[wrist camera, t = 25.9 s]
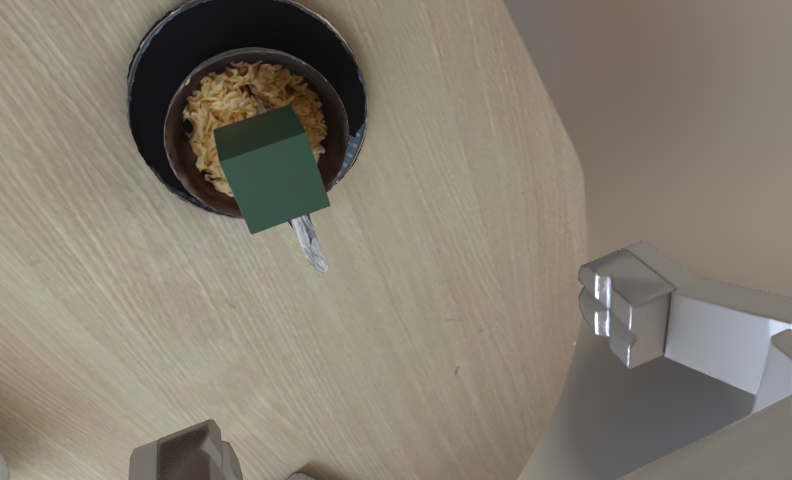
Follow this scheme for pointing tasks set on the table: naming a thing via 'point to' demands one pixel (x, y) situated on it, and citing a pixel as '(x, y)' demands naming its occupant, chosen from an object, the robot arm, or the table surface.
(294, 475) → the book
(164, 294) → the table surface
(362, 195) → the table surface
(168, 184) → the soup bowl
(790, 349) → the robot arm
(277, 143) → the block
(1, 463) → the vase
